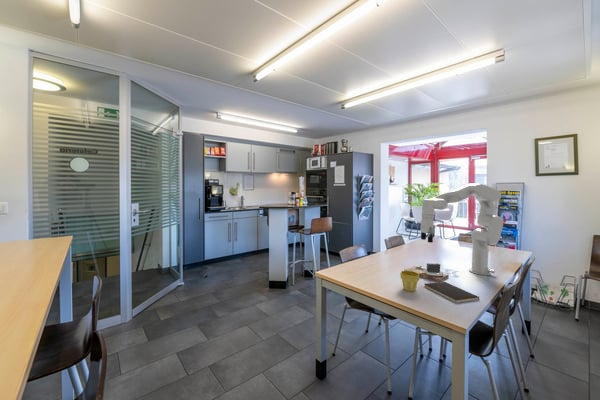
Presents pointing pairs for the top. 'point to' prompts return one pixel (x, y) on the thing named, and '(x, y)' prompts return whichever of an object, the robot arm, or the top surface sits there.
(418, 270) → the levelling base
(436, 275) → the cam dial
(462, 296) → the hardcover book
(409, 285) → the plant pot
